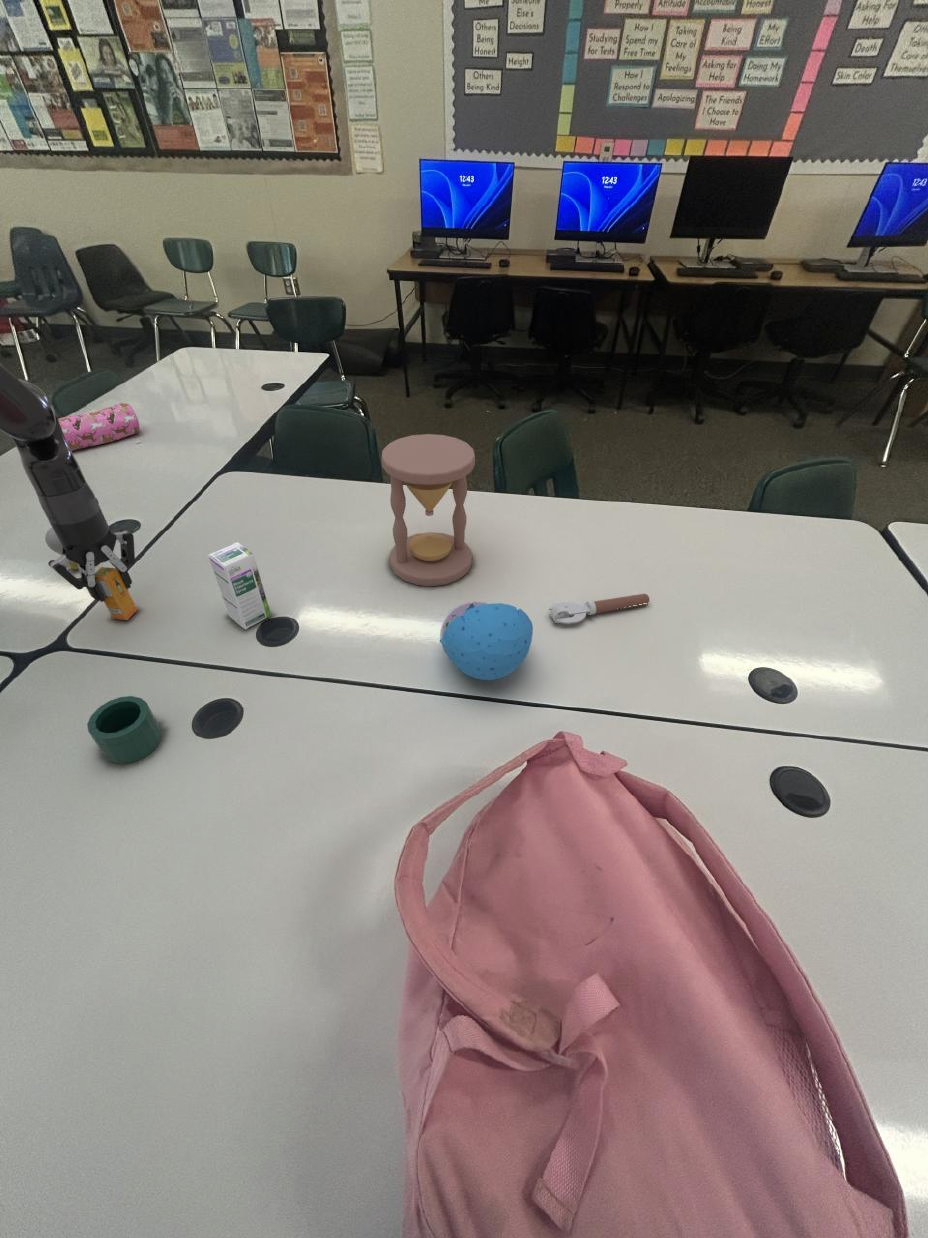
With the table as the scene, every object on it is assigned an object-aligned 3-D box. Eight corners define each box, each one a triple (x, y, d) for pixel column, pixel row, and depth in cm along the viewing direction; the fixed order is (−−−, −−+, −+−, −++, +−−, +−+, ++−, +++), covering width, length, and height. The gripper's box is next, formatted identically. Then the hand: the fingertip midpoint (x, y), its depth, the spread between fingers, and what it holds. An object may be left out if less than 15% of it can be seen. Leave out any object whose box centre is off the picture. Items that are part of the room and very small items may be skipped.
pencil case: (133, 426, 174) (122, 397, 168) (146, 435, 169) (135, 405, 163) (57, 447, 162) (43, 416, 156) (69, 457, 157) (55, 426, 151)
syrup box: (245, 631, 104) (224, 566, 94) (228, 616, 107) (206, 553, 97) (271, 616, 107) (254, 553, 98) (254, 602, 110) (236, 540, 101)
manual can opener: (633, 590, 115) (636, 578, 113) (650, 607, 111) (654, 596, 109) (544, 612, 109) (545, 600, 107) (559, 632, 105) (561, 620, 103)
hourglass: (395, 591, 114) (385, 477, 97) (386, 544, 126) (376, 436, 110) (479, 581, 116) (484, 469, 100) (462, 536, 129) (464, 430, 113)
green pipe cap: (122, 773, 81) (105, 748, 77) (94, 746, 84) (76, 720, 80) (171, 738, 85) (158, 712, 81) (143, 713, 89) (129, 688, 85)
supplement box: (122, 608, 108) (101, 565, 102) (138, 610, 108) (118, 567, 101) (110, 618, 106) (88, 575, 99) (127, 621, 105) (106, 578, 99)
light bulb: (57, 570, 117) (34, 529, 110) (83, 558, 120) (62, 517, 114) (71, 579, 115) (48, 537, 108) (97, 566, 118) (77, 525, 112)
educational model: (512, 621, 107) (518, 556, 97) (539, 695, 93) (549, 628, 83) (431, 630, 105) (429, 564, 95) (445, 707, 91) (445, 639, 81)
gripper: (104, 487, 98) (139, 568, 109) (15, 521, 89) (63, 604, 100) (127, 501, 95) (161, 582, 106) (38, 537, 86) (85, 621, 97)
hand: (113, 592), depth 103 cm, fingers closed on supplement box, 4 cm apart
